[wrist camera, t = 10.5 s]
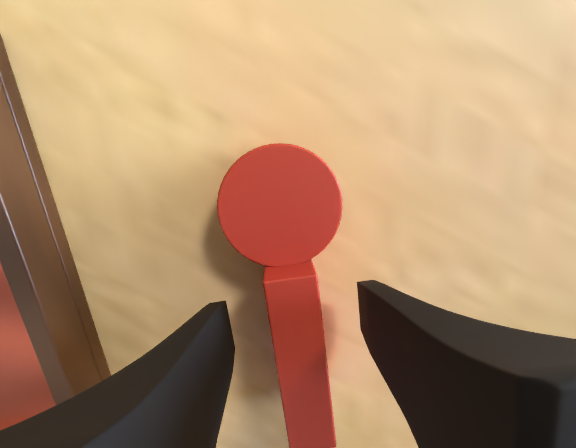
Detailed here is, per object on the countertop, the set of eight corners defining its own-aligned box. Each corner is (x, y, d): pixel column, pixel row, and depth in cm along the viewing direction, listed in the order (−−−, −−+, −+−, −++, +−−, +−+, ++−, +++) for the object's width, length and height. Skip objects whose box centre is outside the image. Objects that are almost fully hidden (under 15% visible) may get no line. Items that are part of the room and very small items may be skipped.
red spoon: (349, 382, 13) (370, 443, 11) (260, 395, 13) (256, 460, 10) (327, 139, 11) (346, 131, 8) (216, 154, 11) (195, 151, 8)
